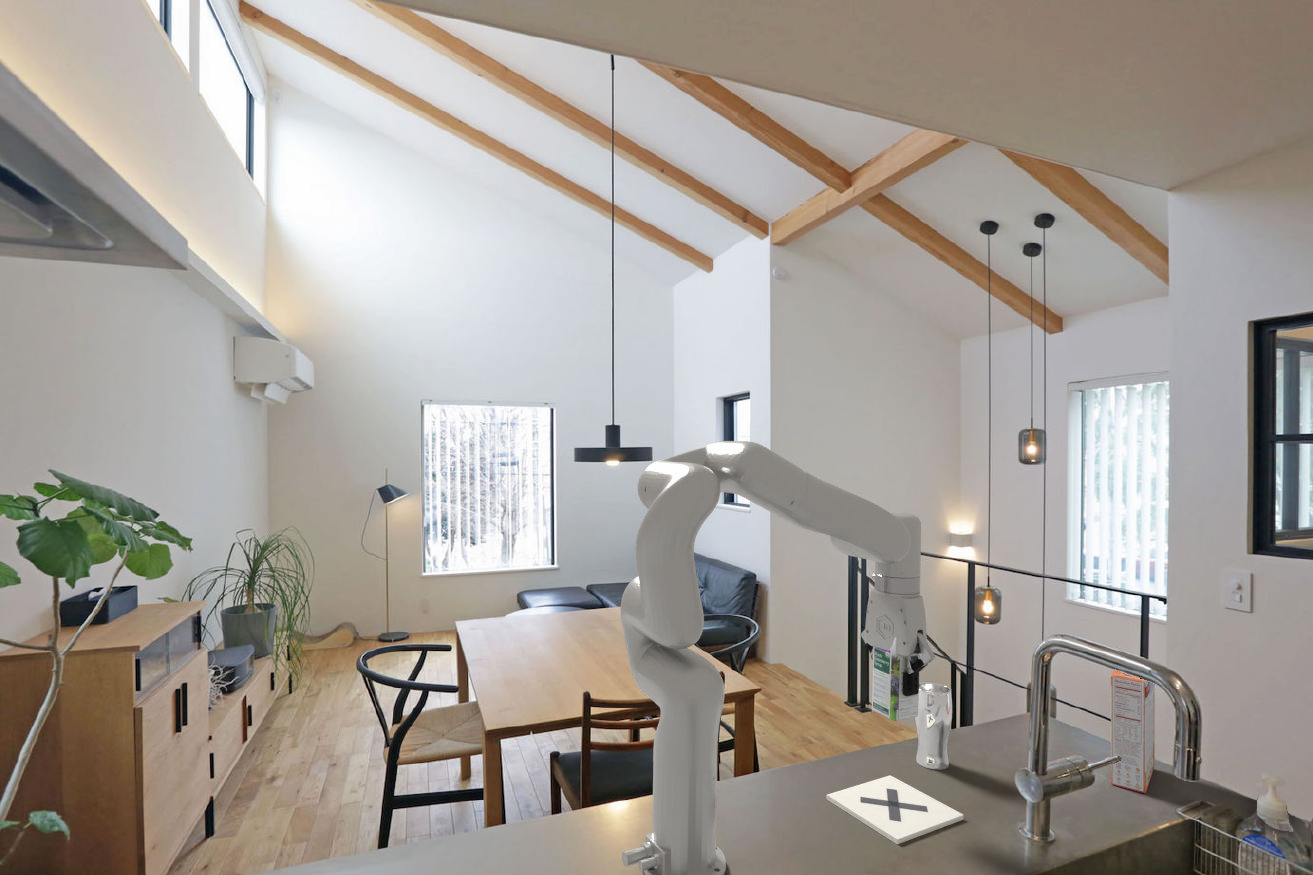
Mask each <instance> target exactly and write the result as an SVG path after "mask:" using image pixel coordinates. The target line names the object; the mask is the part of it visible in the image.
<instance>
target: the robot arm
mask: <svg viewBox="0 0 1313 875" xmlns="http://www.w3.org/2000/svg"><path fill="white" fill-rule="evenodd" d="M721 493H726V494H733V495H734V494H735V495H738V496H740V497H742V498H745V500H747V501H750V502H751V503H754V504H755V505H757V506H759V507H761V508H762V509H764V510H767V511H768V512H770V513H771V514H774V516H776V517H778V518H780V519H782V520H783V521H785V522H787V523H789V524H791V525H793V526H796V527H798V528H802V529H803V530H807V531H811V532H814V533H819V534H823V535H826V536H829V540H830V541H831V544H832V545H833V547H835V549H836V550H837V551H839V552H840V553H842V554H844V555H846V556H848V557H849V556H850V557H853V558H859V559H864V560H868V561H873V562H874V573H873V574H872V576H871V577H872V581H874V588H872V589H871V590H870V593H869V596H868V599H867V600H868V601H867V608H866V614H865V615H866V616H865V628H864V630H863V631H862V632H861V633H860V636H861V639H862V640H863V641H864V644H866V648H867V650H868V651H869V654H870V659H871V661H873V650H874V647H876V648H880V649H884V650H887V651H889V650H890V648H891V647H892V644H893V641H894V639H895V638H897V655H899V656H903V660H904V664H905V667H906V671H907V672H904V673H903V695H904V696H912V695H916V694H918V693H919V683H920V672H922V671H924V669H925V667H927V666H928V665H929V664H930V663H931V662H932V661H933V660H935V658H936V655H935V652H934V651H933V650H932V647H931V646H930V645H929V643H928V642H927V639H928V637H927V619H926V610H925V604H924V599H923V595H921V566H922V565H921V561H922V559H921V556H922V555H921V553H922V550H921V549H922V548H921V546H922V522H921V519H920V517H918V516H917V515H914V514H911V513H910V514H909V513H906V512H905V513H901V512H889V511H888V510H886V509H884V508H883V507H882V506H879V505H878V504H876V503H874V502H872V501H870V500H868V499H866V498H863V497H862V496H859V495H857V494H854V493H852V492H849V491H848V490H845V489H842V488H841V487H838V486H836V485H834V484H832V483H829V482H827V481H825V480H822V479H820V478H818V477H816V476H814V475H812V474H811V473H809V472H808V471H805V470H804V469H803V468H800V467H799V466H797V465H795V464H794V463H793V462H791V461H790V460H788V459H786V458H784V457H783V456H781V455H779V454H778V453H776V452H774V450H771V449H770V448H768V447H766V446H764V445H762V444H760V443H758V442H755V441H754V442H753V441H748V440H747V441H744V440H743V441H741V440H737V441H736V440H722V441H716V442H713V443H710V444H707V445H704V446H701V447H700V446H699V447H698V448H694V449H691V450H688V451H685V452H681V453H680V454H675V455H671V456H669V457H665V458H663V459H659V460H657V461H654V462H652V463H651V464H649V465H648V466H647V467H646V468H645V469H644V470H643V471H642V472H641V474H640V476H639V478H638V482H637V495H638V497H639V499H640V501H641V503H642V505H643V506H644V507H645V508H646V509H647V512H646V513H645V515H644V516H643V519H642V521H641V522H640V526H639V528H638V530H637V534H636V539H635V560H636V567H637V576H636V577H634V578H633V579H632V580H630V581H629V583H628V584H627V585H626V587H625V589H624V591H623V593H622V597H621V601H620V619H621V624H622V630H623V635H624V636H623V637H624V641H625V645H626V653H627V657H628V658H627V659H628V664H629V667H630V668H629V669H630V671H631V675H632V678H633V680H634V683H635V685H636V687H638V689H639V690H640V691H641V692H642V693H643V695H645V696H647V697H648V698H649V699H650V700H651V701H653V702H654V703H655V704H656V706H658V707H659V710H660V715H659V721H658V724H657V728H656V731H655V735H654V738H653V739H654V740H653V749H652V750H653V751H652V752H653V754H652V755H653V756H652V758H653V760H652V762H653V763H652V764H653V768H652V769H653V770H652V771H653V773H652V775H653V777H652V778H653V779H652V820H651V821H652V822H651V824H652V827H651V828H652V829H651V833H647V834H645V842H644V843H642V844H640V847H637V848H631V849H629V850H626V851H622V852H621V861H622V863H623V866H624V867H626V868H627V867H630V866H633V865H636V864H637V867H638V870H639V871H640V872H643V874H644V875H725V873H726V870H727V858H726V856H725V854H724V852H723V850H721V848H720V847H718V845H717V805H718V804H717V802H718V801H717V800H718V798H717V796H718V794H717V792H718V744H719V743H718V742H719V741H718V740H719V728H720V721H721V716H722V712H723V708H724V703H725V702H724V701H725V694H726V693H725V691H726V690H725V683H724V679H723V678H722V676H721V673H720V671H719V670H718V669H717V668H716V667H715V665H714V664H713V663H712V662H711V661H710V660H708V659H707V658H706V657H704V656H703V655H701V654H700V653H697V652H695V651H694V650H693V649H690V647H692V646H693V645H695V644H696V643H697V642H698V641H699V640H700V638H701V636H702V635H703V631H704V627H705V615H704V608H703V604H702V603H703V602H702V599H701V598H702V597H701V593H700V592H701V591H700V587H699V582H698V575H697V570H696V563H695V552H694V551H695V541H696V538H697V535H698V533H699V531H700V529H701V528H702V526H703V524H704V523H705V522H706V520H707V519H708V518H709V516H710V515H711V514H712V513H713V512H714V511H715V509H716V507H717V506H718V503H719V501H720V497H721ZM917 647H918V648H917ZM919 654H920V655H919ZM912 656H913V662H914V663H912V661H911V657H912Z"/></svg>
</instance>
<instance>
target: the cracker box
mask: <svg viewBox="0 0 1313 875" xmlns="http://www.w3.org/2000/svg"><path fill="white" fill-rule="evenodd" d="M1155 687H1156V683H1155V684H1153V683H1151V682H1149V681H1147V680H1144V679H1140V678H1138V677H1136V676H1130V675H1127V674H1125V673H1122V672H1120V671H1117V670H1116V669H1115V670H1113V672H1112V674H1111V676H1110V758H1111V757H1113V756H1120V757H1121V758H1122V759H1121V761H1119V762H1117V763H1115V764H1113V765H1111V764H1110V784H1111V785H1113V786H1115V787H1120V788H1123V789H1127V790H1131V791H1134V792H1138V793H1143V794H1146V793H1147V791H1148V789H1149V786H1150V783H1151V782H1150V781H1151V779H1152V775H1153V773H1154V770H1155V766H1156V765H1155V758H1156V755H1155V752H1156V751H1155V750H1156V748H1155V741H1156V740H1155V739H1156V736H1155V735H1156V734H1155V731H1156V730H1155V729H1156V727H1155V726H1156V725H1155V724H1156V723H1155V722H1156V719H1155V717H1156V716H1155V714H1156V713H1155V712H1156V711H1155V710H1156V707H1155V706H1156V703H1155V702H1156V701H1155V700H1156V697H1155V696H1156V688H1155Z"/></svg>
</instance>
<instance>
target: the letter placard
mask: <svg viewBox="0 0 1313 875" xmlns="http://www.w3.org/2000/svg"><path fill="white" fill-rule="evenodd" d="M826 800H827V801H828V802H830V803H832V804H833V805H834V806H836V807H838V808H839V809H841V810H842V811H845V812H846V813H847V814H849V815H851V816H852V817H853V818H856V820H857V821H859V822H861V823H863V824H865V825H866V826H867V827H870V828H871V829H872V830H873V831H875V832H876V833H879V834H880V835H882V836H884V838H886V839H887V840H890V841H891V842H892V843H894V844H896V845H900V844H903V843H905V842H907V841H911V840H913V839H916V838H919V837H920V836H924V835H927V834H929V833H932V832H934V831H937V830H940V829H942V828H944V827H947V826H950V825H953V824H955V823H958V822H961V821H964V814H963V813H962V812H960V811H957V810H956V809H953V808H952V807H950V806H948V805H946V804H945V803H942V802H941V801H939V800H937V799H935V798H933V797H932V796H930V795H928V794H925V793H924V792H923V791H920V790H918V788H915V787H913V786H911V785H910V784H907V783H905V782H903V781H902V780H900V779H898V778H896V777H894V776H892V775H890V774H889V775H887V776H884V777H883V776H882V777H880V778H877V779H873V780H870V781H866V782H864V783H861V784H857V785H853V786H850V787H848V788H843V789H842V790H838V791H834V792H831V793H828V794H826Z"/></svg>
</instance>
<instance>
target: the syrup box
mask: <svg viewBox="0 0 1313 875" xmlns="http://www.w3.org/2000/svg"><path fill="white" fill-rule="evenodd" d="M917 648H918V647H917ZM919 655H920V656H921V654H919ZM872 661H873V662H872V688H871V689H872V693H871V695H872V697H871V711H872V712H875V713H878V714H880V715H881V716H883V717H885V718H886V719H889V720H891V721H893V722H899V721H903V720H907V719H908V720H909V719H913V718H915V717H918V703H919V693H918V694H916V695H912V696H904V695H903V673H904V672H907V671H906V667H905V664H904V660H903V656H899V655H897V638H895V639H894V641H893V644H892V647H891V648H890V650H889V651H887V650H884V649H880V648H876V647H874V650H873V660H872ZM911 661H912V663H914V662H913V656H912V657H911Z"/></svg>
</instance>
